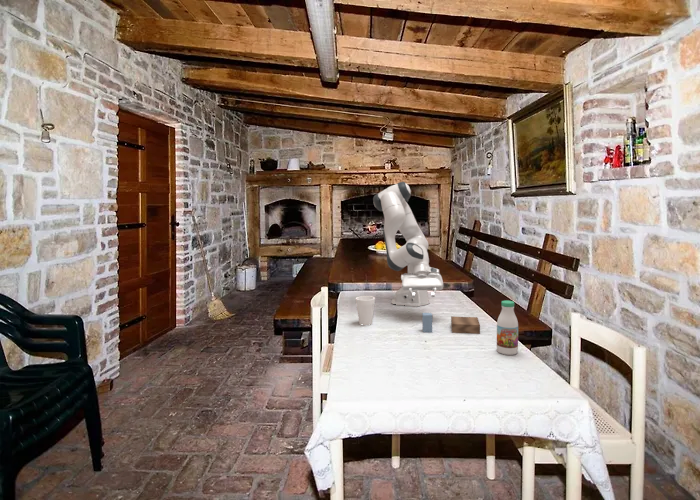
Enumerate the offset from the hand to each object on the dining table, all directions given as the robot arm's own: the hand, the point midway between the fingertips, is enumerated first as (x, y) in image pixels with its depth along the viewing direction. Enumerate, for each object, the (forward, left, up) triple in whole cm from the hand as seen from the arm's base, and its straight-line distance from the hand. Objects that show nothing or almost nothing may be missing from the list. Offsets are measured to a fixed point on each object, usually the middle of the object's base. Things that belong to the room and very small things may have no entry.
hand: (423, 296), depth 186 cm
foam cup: (-28, -4, -14) cm, 31 cm away
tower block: (+2, -11, -13) cm, 17 cm away
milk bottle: (+33, -32, -14) cm, 48 cm away
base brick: (+19, -6, -13) cm, 24 cm away
